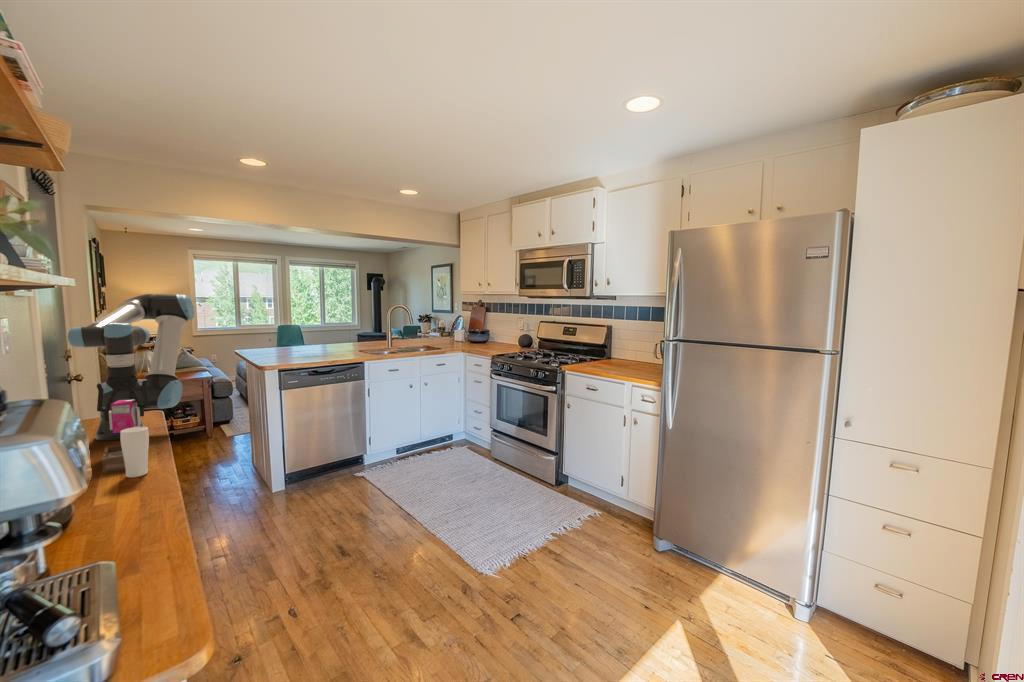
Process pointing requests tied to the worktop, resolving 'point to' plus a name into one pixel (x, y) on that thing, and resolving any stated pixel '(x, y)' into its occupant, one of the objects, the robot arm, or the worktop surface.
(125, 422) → the supplement box
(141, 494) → the worktop surface
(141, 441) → the white cup
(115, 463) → the crate
